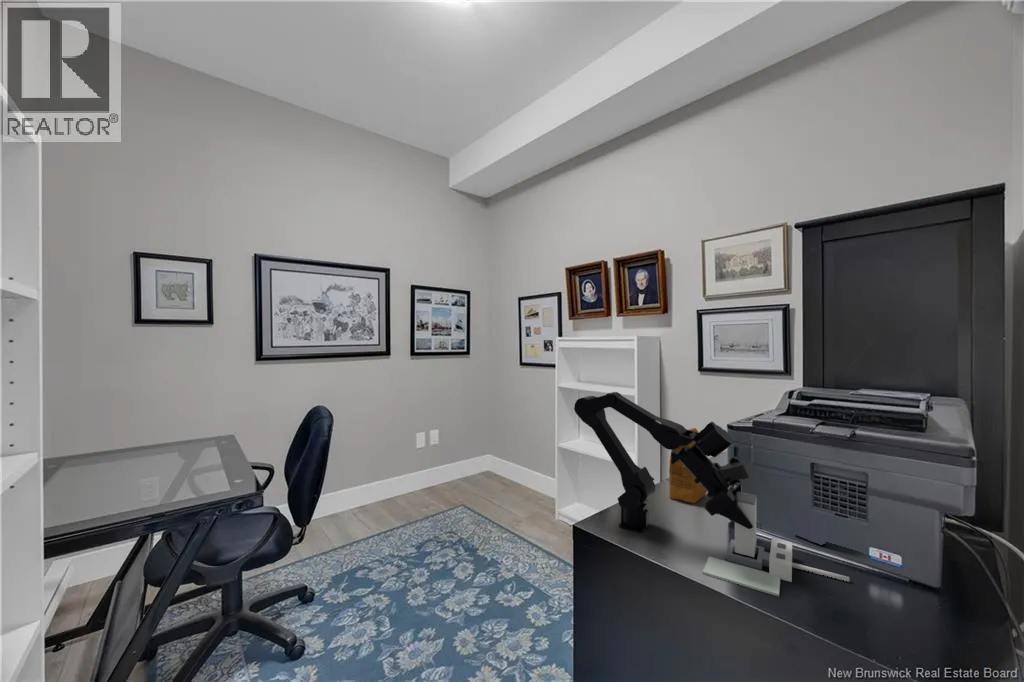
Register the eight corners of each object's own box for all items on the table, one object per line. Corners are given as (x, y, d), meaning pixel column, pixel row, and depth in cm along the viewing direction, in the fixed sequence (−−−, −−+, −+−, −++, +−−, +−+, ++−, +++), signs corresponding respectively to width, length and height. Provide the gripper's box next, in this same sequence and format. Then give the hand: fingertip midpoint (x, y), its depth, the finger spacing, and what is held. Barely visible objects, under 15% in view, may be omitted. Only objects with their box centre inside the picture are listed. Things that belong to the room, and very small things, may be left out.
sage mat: (702, 573, 90) (702, 571, 90) (708, 558, 96) (708, 556, 96) (779, 596, 82) (779, 594, 82) (780, 578, 88) (780, 576, 88)
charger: (734, 552, 96) (734, 498, 95) (737, 542, 100) (737, 491, 100) (754, 557, 93) (754, 502, 93) (756, 547, 98) (756, 495, 98)
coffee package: (712, 496, 133) (712, 429, 133) (695, 507, 125) (695, 435, 125) (682, 488, 141) (682, 424, 141) (664, 498, 132) (664, 430, 132)
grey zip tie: (725, 563, 94) (725, 547, 94) (732, 542, 104) (732, 527, 104) (852, 599, 81) (852, 580, 81) (846, 570, 91) (846, 554, 91)
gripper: (721, 457, 91) (780, 519, 85) (732, 440, 106) (782, 491, 100) (683, 485, 96) (737, 546, 89) (699, 465, 111) (745, 516, 105)
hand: (752, 523), depth 96 cm, fingers closed on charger, 5 cm apart
